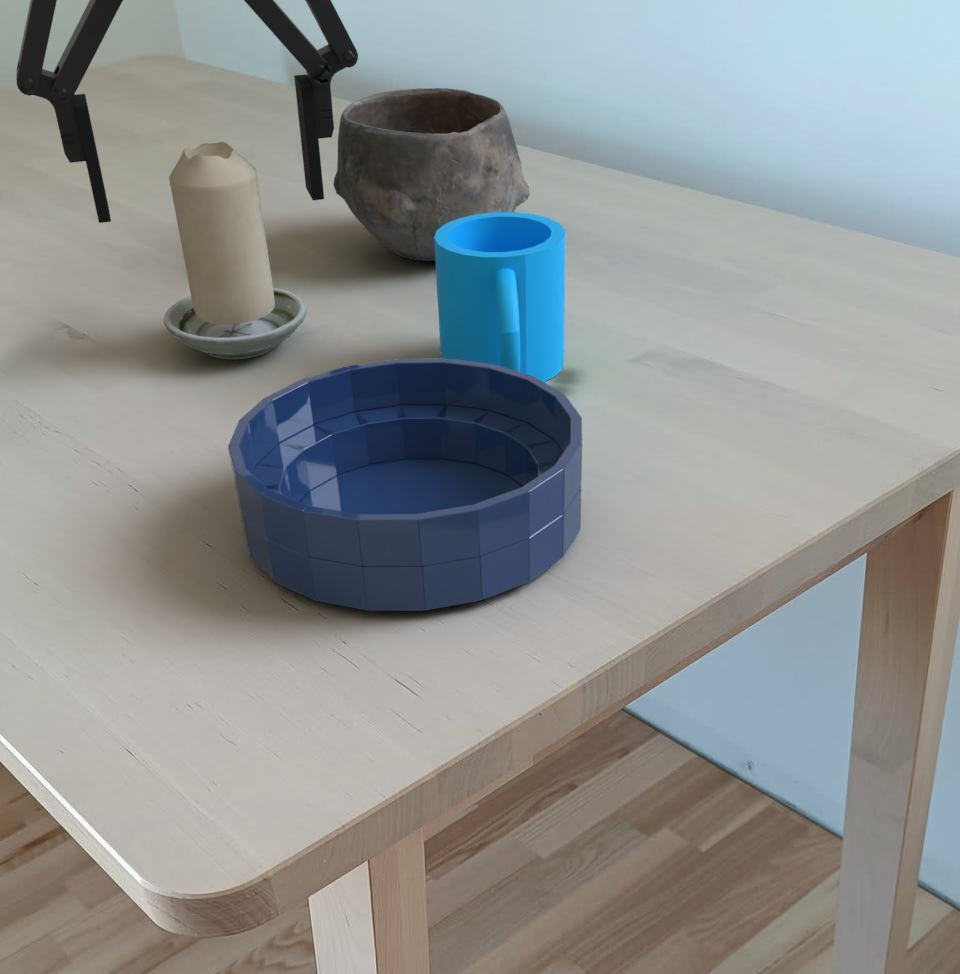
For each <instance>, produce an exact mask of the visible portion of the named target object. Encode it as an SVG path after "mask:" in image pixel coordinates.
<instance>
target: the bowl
mask: <svg viewBox="0 0 960 974" xmlns="http://www.w3.org/2000/svg"><path fill="white" fill-rule="evenodd" d="M338 126H339V127H338V134H337V169H336V173H335V175H334V178H333V184H332V185H333V188H334V191H335V193H336V194H337V195H338V196H339V197H340V198H342V200H343V201H344V202H345V203H346V205H347V207H348V208H349V210H350V212H351V213H352V214H353V215H354V217H355V218H356V219H357V221H358V222H360V224H361V225H362V226H363V228H364V229H366V231H368V232H369V234H371V235H372V236H373V237H374V238H375V239H376V241H378V243H380V244H381V246H383V247H384V248H385V249H387V250H388V251H390V252H393V253H394V254H396V255H398V256H400V257H403V258H406V259H409V260H415V261H421V262H423V261H424V262H425V261H426V262H431V261H436V260H435V243H434V237H435V234H436V231H437V230H438V229H439V228H441V227H442V226H443V225H444V224H446V223H449V222H451V221H454V220H456V219H458V218H463V217H467V216H471V215H476V214H484V213H493V212H516V211H515V210H516V209H517V207H519V206H520V205H522V204H523V203H525V202H527V201H528V199H529V197H530V190H529V189H530V186H529V184H528V183H527V181H526V179H525V178H524V175H523V169H522V161H521V157H520V155H519V151H518V148H517V144H516V140H515V137H514V133H513V130H512V126H511V123H510V120H509V117H508V114H507V112H506V110H505V107H504V106H503V105H502V103H500V102H499V101H497V100H496V99H494V98H491V97H488V96H486V95H483V94H479V93H475V92H472V91H468V90H465V89H456V88H449V87H445V88H444V87H435V88H421V87H420V88H407V89H395V90H389V91H384V92H383V91H382V92H378V93H374V94H371V95H367V96H365V97H362V98H361V99H358V100H356V101H353V102H352V103H350V104H349V105H348V106H347V107H345V108H344V110H343V112H342V113H341V115H340V119H339V125H338Z"/></svg>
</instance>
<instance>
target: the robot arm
mask: <svg viewBox="0 0 960 974" xmlns="http://www.w3.org/2000/svg"><path fill="white" fill-rule="evenodd" d="M57 1H58V0H30V2H29V6H28V11H27V16H26V20H25V26H24V30H23V31H24V32H23V36H22V41H21V45H20V52H19V55H18V60H17V66H16V74H15V75H16V86H17V89H18V90H19V92H20V93H21V94H23V95H25V96H35V97H38V98H42V99H45V100H47V101H48V102H49V103H50V104H51V105H52V107H53V109H54V112H55V113H54V114H55V117H56V121H57V126H58V129H59V131H58V132H59V134H60V135H59V136H60V140H61V144H62V148H63V153H64V155H65V157H66V158H67V160H68V162H69V163H70V164H71V163H80V162H81V163H82V162H85V164H86V168H87V174H88V178H89V179H88V180H89V183H90V188H91V192H92V196H93V202H94V206H95V212H96V215H97V221H98V223H99V224H101V223H103V224H104V223H111V222H112V218H111V213H110V207H109V201H108V198H107V192H106V189H105V183H104V178H103V174H102V173H103V172H102V169H101V164H100V159H99V155H98V149H97V145H96V140H95V135H94V131H93V126H92V121H91V116H90V110H89V105H88V102H87V97H86V93H79V94H78V93H77V90H78V88H79V86H80V84H81V83H82V81H83V78H84V77H85V76H86V75H85V74H86V72H87V71H88V69H89V67H90V65H91V63H92V61H93V59H94V57H95V55H96V53H97V51H98V50H99V47H100V46H101V43H102V41H103V40H104V38H105V36H106V34H107V32H108V30H109V28H110V26H111V24H112V22H113V20H114V19H115V17H116V14H117V13H118V11H119V9H120V7H121V5H122V3H123V1H124V0H89V1H88V2H87V5H86V7H85V9H84V11H83V13H82V14H81V17H80V19H79V21H78V23H77V24H76V26H75V28H74V31H73V32H72V34H71V36H70V39H69V40H68V43H67V45H66V47H65V48H64V50H63V52H62V54H61V56H60V58H59V61H58V62H57V64H56V66H55V67H54V70H53V71H51V70H47V69H44V63H45V58H46V53H47V48H48V43H49V39H50V34H51V29H52V26H53V25H52V24H53V22H54V21H53V20H54V15H55V11H56V6H57ZM243 1H244V2H245V3H246V4H247V6H248V7H249V8H250V9H251V10H252V11H253V13H254V14H256V16H257V17H258V18H259V19H260V21H262V22H263V23H264V25H265V26H266V27H267V28H268V30H270V31H271V33H272V34H273V35H274V37H276V38H277V39H278V40H279V42H280V43H281V44H282V45H283V46H284V47H285V48H286V49H287V51H288V52H289V53H290V54H291V55H292V56H293V57H294V58H295V59H296V61H297V62H298V63H299V64H300V65H301V67H303V69H304V70H305V71H306V74H297V75H296V74H295V75H293V77H294V87H295V96H296V105H297V107H296V108H297V116H298V124H299V126H298V127H299V134H300V135H299V136H300V144H301V153H302V163H303V173H304V183H305V188H306V191H307V193H308V194H309V196H310V198H311V201H320V200H321V201H322V200H325V193H324V184H323V183H324V181H323V172H322V162H321V152H320V141H319V140H320V139H328V138H332V137H333V135H334V130H335V122H334V114H333V113H334V112H333V111H334V110H333V99H332V87H331V84H332V83H331V82H332V80H333V77H334V76H335V74H337V73H338V72H340V71H342V70H344V69H346V68H349V69H350V68H352V67H354V66H355V65H357V62H358V60H359V54H358V50H357V48H356V46H355V45H354V42H353V40H352V38H351V37H350V34H349V32H348V30H347V28H346V26H345V25H344V23H343V21H342V18H341V17H340V15H339V13H338V12H337V10H336V8H335V5H334V4H333V2H332V0H304V1H305V3H306V5H307V7H308V9H309V10H310V12H311V14H312V15H313V18H314V19H315V21H316V23H317V25H318V28H319V29H320V31H321V33H322V35H323V36H324V39H325V40H326V43H327V44H326V45H324V46H323V47H321V48H319V49H317V48H316V47H315V46H314V45H313V43H312V42H311V41H310V39H308V38H307V37H306V36H305V34H304V33H303V32H302V31H301V29H299V27H298V26H297V25H296V24H295V23H294V22H293V20H292V19H291V18H290V17H289V16H288V15H287V14H286V12H285V11H284V10H283V9H282V7H280V6H279V4H278V3H277V2H276V1H275V0H243ZM76 93H77V94H76Z"/></svg>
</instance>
